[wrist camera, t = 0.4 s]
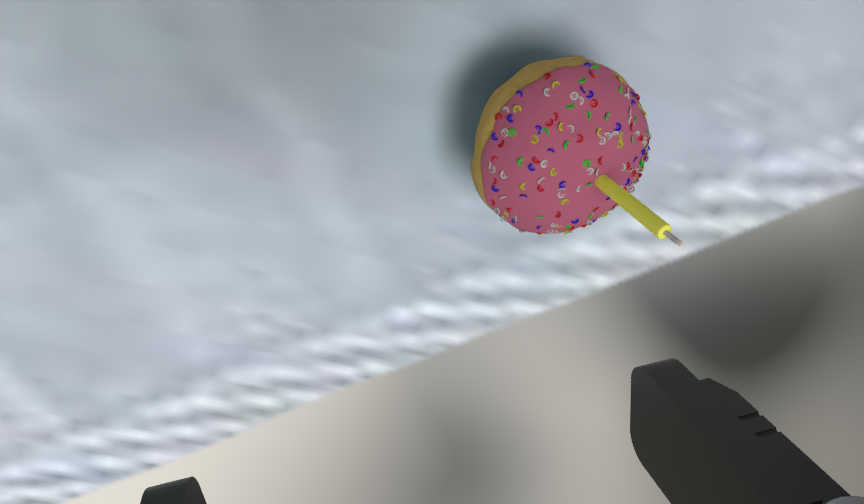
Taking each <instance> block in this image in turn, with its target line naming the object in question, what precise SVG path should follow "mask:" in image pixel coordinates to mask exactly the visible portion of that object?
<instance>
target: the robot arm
mask: <svg viewBox="0 0 864 504" xmlns="http://www.w3.org/2000/svg"><path fill="white" fill-rule="evenodd" d="M630 414H631V415H630V433H631V439H632V443H633V446H634V449H635V452H636V454H637V456H638V458H639V460H640V462H641V463H642V465H643V466H644V468H645V469H646V470H647V472H648V473H649V474H650V476H651V477H652V478H653V479H654V481H655V482H656V484H657V485H658V487H659V488H660V489H661V490H662V492H663V493H664V495H665V496H666V497H667V499H668V500H669V501H670V503H671V504H864V497H861V496H851V495H850V494H848V493H847V492H846V491H845V490H844V489H843V488H842V487H841V486H840V485H838V484H837V483H836V482H835V481H834V480H833V479H832V478H831V477H830V476H829V475H827V474H826V473H825V472H824V471H823V470H822V469H821V468H820V467H819V466H818V465H816V464H815V463H814V462H813V461H812V460H811V459H810V458H809V457H808V456H807V455H806V454H804V453H803V452H802V451H801V450H800V449H799V448H798V447H797V446H796V445H795V444H793V443H792V442H791V441H790V440H789V439H788V438H787V437H786V436H785V435H784V434H782V433H781V432H777V430H776V427H775V426H774V425H772V423H770V422H769V421H768V420H767V419H766V418H765V417H764V416H760V415H759V413H758V411H757V410H756V409H755V408H754V407H753V406H752V405H751V404H750V403H748V402H747V401H746V400H745V399H744V398H743V397H742V396H741V395H740V394H739V393H738V392H736V391H734V390H731V389H730V388H728V387H726V386H724V385H722V384H720V383H718V382H716V381H714V380H712V379H710V378H707V379H703V380H698V379H697V378H696V377H695V376H694V375H693V374H692V373H691V372H690V371H689V370H688V369H687V368H686V367H685V366H684V365H683V364H682V363H681V362H679V361H678V360H676V359H674V358H671V359H667V360H663V361H659V362H655V363H651V364H647V365H643V366H639V367H636V368H634V369H633V371H632V375H631V413H630ZM140 504H206V501H205V498H204V496H203V493H202V491H201V488H200V486H199V483H198V481H197V480H196V479H195V478H194V477H189V478H184V479H180V480H176V481H173V482H168V483H164V484H160V485H156V486H153V487H149V488H147V489H146V490H145V491H144V493H143V496H142V499H141V503H140Z"/></svg>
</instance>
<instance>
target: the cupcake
mask: <svg viewBox="0 0 864 504" xmlns="http://www.w3.org/2000/svg"><path fill="white" fill-rule="evenodd" d="M637 96H638V97H637ZM639 100H640V97H639V95H638V94H636V93H635V91H634V90H633V89H632V88H631V87H630V86H629V85H628V83H627V82H626V81H625V79H624V78H623V77H622V76H620V75H619V74H618V73H617V72H615V71H613V70H611V69H609V68H608V67H605V66H603V65H600V64H597V63H595V62H593V61H591V60H588V59H586V58H584V57H581V56H569V57H562V58H556V59H549V60H541V61H536V62H533V63H530V64H528V65H526V66H525V67H523V68H522V69H521V70H519V71H518V72H517V73H516V74H515V75H514V76H513V77H511V78H510V79H509V80H507V81H506V82H505V83H503V84H502V85H501V86H500V87H498V88H497V89H496V90H495V91H494V92H493V94H492V95H491V96H490V98H489V100H488V102H487V103H486V105H485V107H484V109H483V112H482V115H481V118H480V121H479V124H478V127H477V131H476V136H475V147H474V155H473V158H472V161H471V173H472V177H473V181H474V184H475V187H476V189H477V191H478V193H479V195H480V197H481V198H482V200H483V201H484V202H485V204H486V205H487V206H489V207H490V208H491V209H492V210H493V211H494V212H495V213H496V214H498V215H499V216H500V217H501V218H500V219H501V220H502V221H507V222H508V223H510V224H511V225H512V226H514V227H515V228H517V229H519V231H520V232H521V233H525V232H526V231H527V232H534V233H537V234H541V233H547V234H552V233H561V232H564V234H566V233H568V232H573V231H571V230H573V229H576V228H578V227H585V226H586V225H592V224H593V222H595V221H596V220H597V218H600V217H601V216H602V217H605V216H606V215H607V214H608V211H612V210H614V209H615V207H617V206H621V207H622V208H623V209H624V210H625V211H627V212H628V213H629V214H630V215H631V216H633V217H634V218H635V219H636V220H638V221H639V222H640V223H641V224H642V225H644V226H645V227H646V228H647V229H648V230H650V231H651V232H652V233H653V234H654V235H656V236H657V237H658V238H660V239H663V238H665V237H668V238H669V239H670V240H672V241H673V242H674V243H676V244H677V245H679V246H681V245H682V244H683V242H682V241H681V240H679V239H678V238H677V237H675V236H674V235H673V234H671V233H670V232H671V226H670V225H669V224H668V223H666V222H665V221H664V220H663V219H661V218H660V217H659V216H658V215H656V214H655V213H654V212H653V211H651V210H650V209H649V208H647V207H646V206H645V205H644V204H642V203H641V202H640V201H639V200H637V199H636V198H635V197H633V196H632V195H631V194H630V193H633V192H634V191H635V187H634V186H633V184H637V183H638V182H639V179H638V178H640V177H641V176H642V174H641V173H639V172H642V171H643V170H644V162H648V160H649V156H648V154H649V150H650V147H649V146H648V144H649V140H650V139H651V134H650V133H649V129H648V124H647V121H646V118H645V115H646V112H645V111H644V110H643V109H642V107H641V104H640V102H639ZM649 136H650V137H649ZM648 137H649V138H648ZM647 151H648V152H647ZM646 159H647V160H646ZM641 168H642V170H640V169H641ZM638 176H639V177H638ZM635 180H636V181H637V182H636V181H635ZM634 182H635V183H634ZM632 188H633V190H632ZM629 190H632V191H629ZM628 192H629V193H628ZM617 204H618V205H617ZM612 208H613V209H612ZM604 214H605V215H604ZM503 219H504V220H503ZM565 231H566V232H565Z"/></svg>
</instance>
